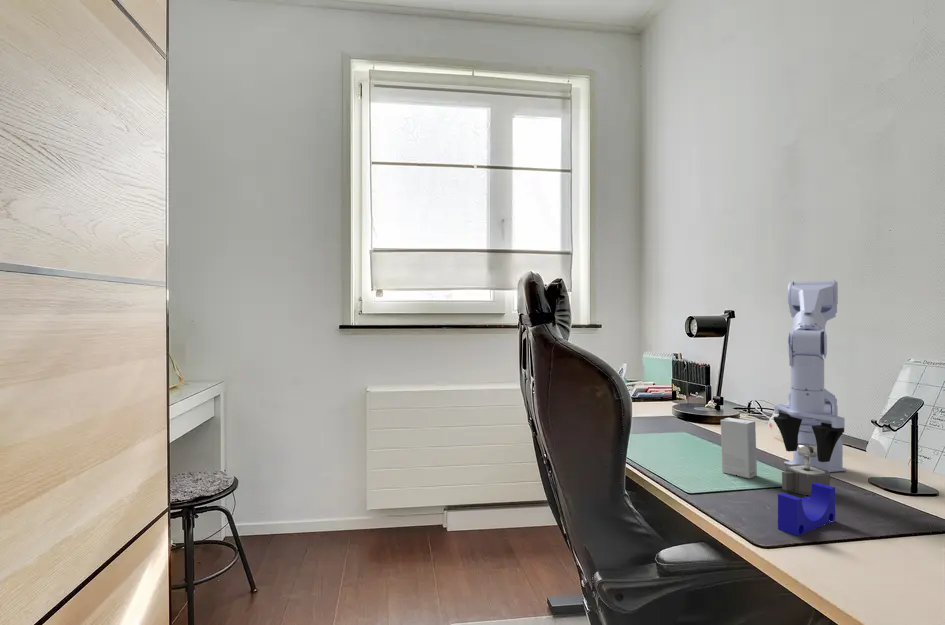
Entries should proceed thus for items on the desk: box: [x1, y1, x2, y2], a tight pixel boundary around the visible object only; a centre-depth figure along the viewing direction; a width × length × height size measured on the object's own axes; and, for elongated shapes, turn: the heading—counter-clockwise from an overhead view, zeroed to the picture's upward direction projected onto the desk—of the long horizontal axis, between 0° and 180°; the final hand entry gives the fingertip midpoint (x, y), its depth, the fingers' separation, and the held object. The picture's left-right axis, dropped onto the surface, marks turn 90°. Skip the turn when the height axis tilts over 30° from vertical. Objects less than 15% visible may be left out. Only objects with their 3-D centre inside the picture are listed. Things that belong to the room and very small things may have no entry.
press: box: [781, 464, 831, 497], centre depth 102 cm, size 9×7×4 cm
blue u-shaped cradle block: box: [777, 482, 836, 537], centre depth 86 cm, size 12×4×6 cm, turn 119°
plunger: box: [798, 443, 817, 471], centre depth 102 cm, size 3×3×6 cm
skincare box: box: [720, 417, 758, 479], centre depth 112 cm, size 6×4×12 cm
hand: (807, 455), depth 102 cm, fingers open, 7 cm apart
